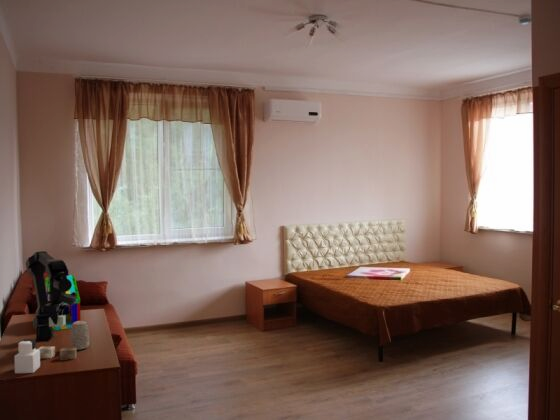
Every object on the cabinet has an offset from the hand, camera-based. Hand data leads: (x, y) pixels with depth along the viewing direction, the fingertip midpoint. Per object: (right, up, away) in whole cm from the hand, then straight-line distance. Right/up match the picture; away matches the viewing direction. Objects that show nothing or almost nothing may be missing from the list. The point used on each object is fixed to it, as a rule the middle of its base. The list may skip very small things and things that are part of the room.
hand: (57, 323), depth 225 cm
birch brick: (0, -12, -11) cm, 16 cm away
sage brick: (0, -1, 0) cm, 1 cm away
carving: (+10, -12, 0) cm, 16 cm away
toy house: (-15, -9, +39) cm, 43 cm away
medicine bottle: (0, -13, -26) cm, 29 cm away
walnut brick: (+10, -12, -13) cm, 20 cm away
